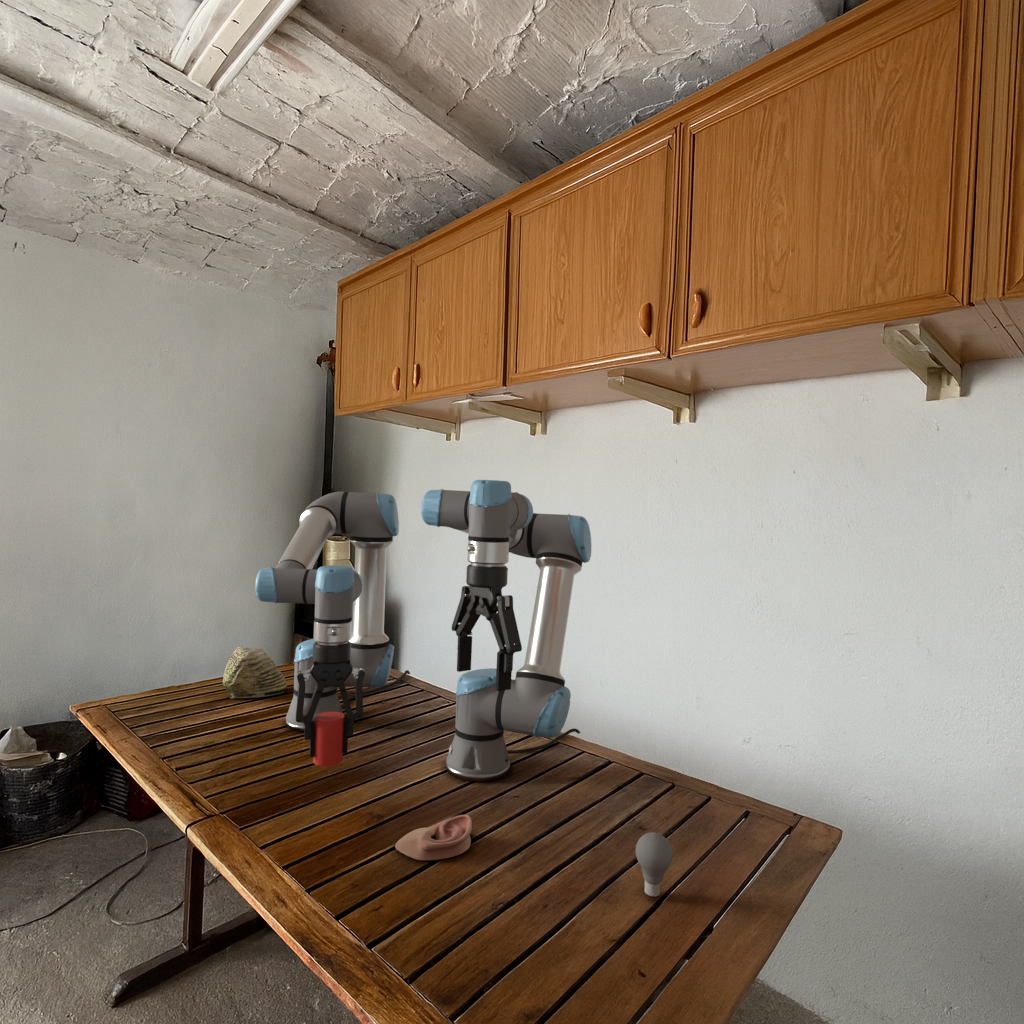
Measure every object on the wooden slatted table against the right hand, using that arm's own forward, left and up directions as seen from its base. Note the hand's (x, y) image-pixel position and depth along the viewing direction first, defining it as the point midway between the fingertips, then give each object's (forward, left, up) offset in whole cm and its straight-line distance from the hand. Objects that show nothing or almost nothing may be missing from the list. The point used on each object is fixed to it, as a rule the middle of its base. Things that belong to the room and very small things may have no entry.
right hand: (482, 679), depth 116 cm
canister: (+18, -30, -22) cm, 41 cm away
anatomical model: (+6, -5, -31) cm, 32 cm away
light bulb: (-18, +27, -31) cm, 45 cm away
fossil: (+14, -109, -31) cm, 114 cm away
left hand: (+18, -30, -20) cm, 40 cm away
